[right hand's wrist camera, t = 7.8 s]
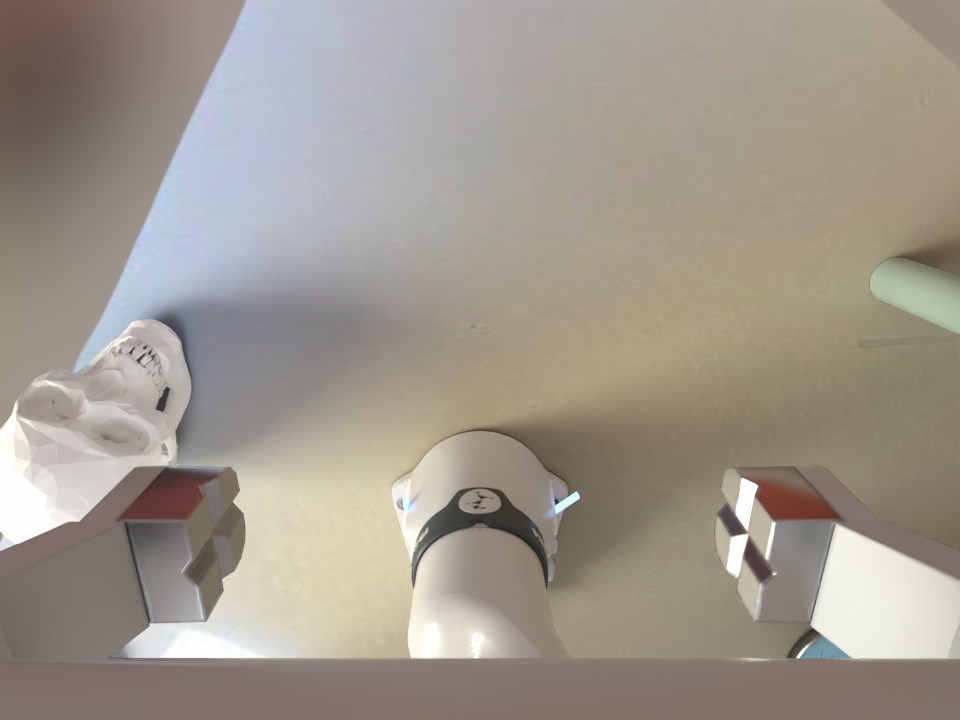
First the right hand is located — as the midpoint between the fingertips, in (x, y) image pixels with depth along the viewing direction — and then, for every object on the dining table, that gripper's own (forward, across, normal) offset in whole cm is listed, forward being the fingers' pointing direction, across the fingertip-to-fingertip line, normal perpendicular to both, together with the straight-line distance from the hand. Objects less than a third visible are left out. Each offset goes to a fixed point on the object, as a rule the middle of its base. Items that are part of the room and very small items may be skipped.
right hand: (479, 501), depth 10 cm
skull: (+48, -35, -21) cm, 63 cm away
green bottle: (+48, +39, -8) cm, 62 cm away
